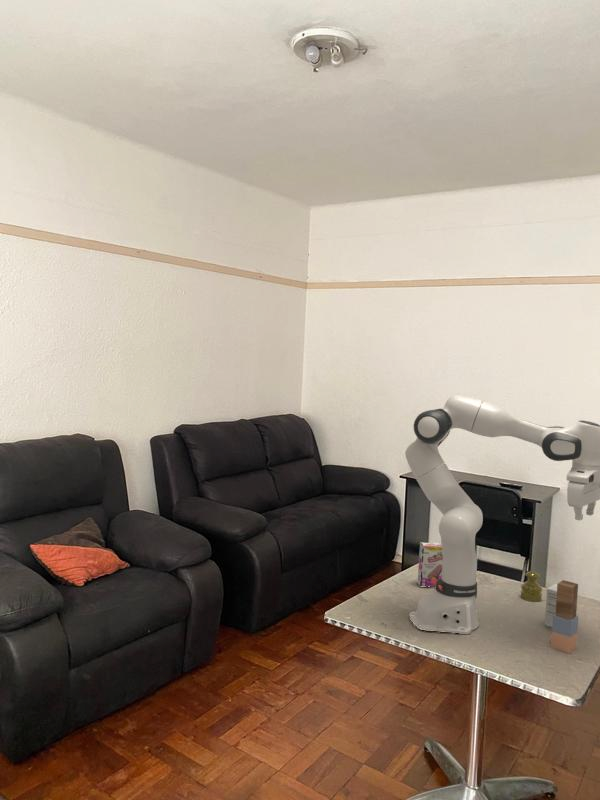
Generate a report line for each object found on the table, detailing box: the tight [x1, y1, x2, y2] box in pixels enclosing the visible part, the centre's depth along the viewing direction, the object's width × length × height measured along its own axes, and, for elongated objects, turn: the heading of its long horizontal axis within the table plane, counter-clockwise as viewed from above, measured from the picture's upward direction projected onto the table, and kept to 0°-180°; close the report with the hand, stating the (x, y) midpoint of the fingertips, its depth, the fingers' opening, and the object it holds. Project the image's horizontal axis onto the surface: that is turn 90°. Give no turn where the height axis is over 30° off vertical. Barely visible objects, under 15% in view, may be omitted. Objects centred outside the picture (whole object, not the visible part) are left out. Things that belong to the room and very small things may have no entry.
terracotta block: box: [550, 631, 578, 654], centre depth 195 cm, size 6×6×5 cm
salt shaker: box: [520, 570, 543, 603], centre depth 234 cm, size 7×7×10 cm
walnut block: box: [556, 579, 579, 620], centre depth 194 cm, size 4×4×10 cm
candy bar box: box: [417, 542, 443, 587], centre depth 243 cm, size 11×5×16 cm, turn 94°
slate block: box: [551, 614, 579, 637], centre depth 194 cm, size 6×6×5 cm
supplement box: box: [544, 583, 558, 628], centre depth 210 cm, size 7×7×13 cm
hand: (584, 517), depth 198 cm, fingers open, 8 cm apart
